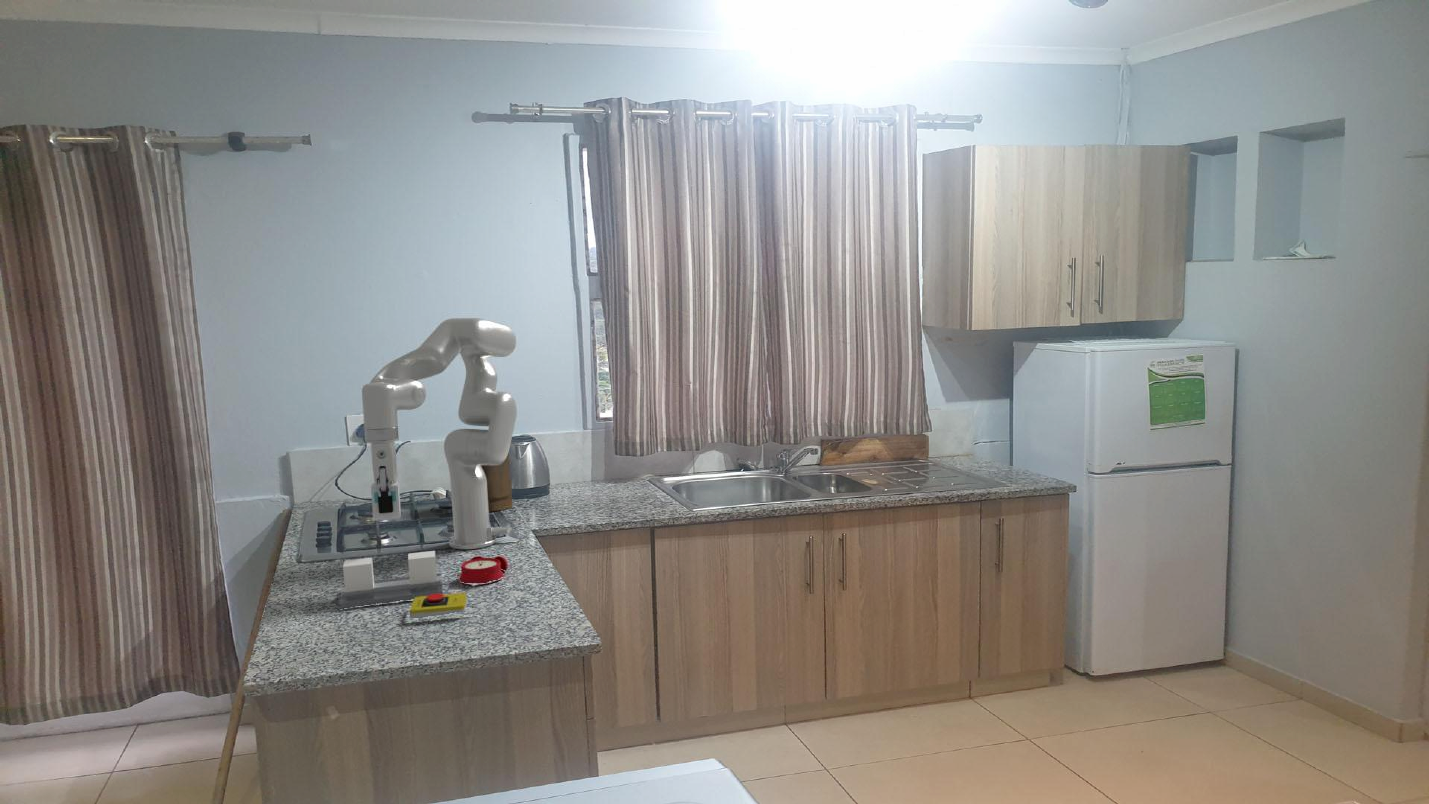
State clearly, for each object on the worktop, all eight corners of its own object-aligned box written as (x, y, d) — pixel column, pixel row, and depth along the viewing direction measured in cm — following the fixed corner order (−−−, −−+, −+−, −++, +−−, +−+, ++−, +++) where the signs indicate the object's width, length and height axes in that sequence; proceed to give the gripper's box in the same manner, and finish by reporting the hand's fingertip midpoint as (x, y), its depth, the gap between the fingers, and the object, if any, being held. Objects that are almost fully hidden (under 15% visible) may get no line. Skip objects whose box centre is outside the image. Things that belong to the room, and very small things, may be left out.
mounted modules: (436, 575, 229) (434, 550, 228) (437, 581, 224) (435, 556, 223) (346, 585, 223) (344, 560, 222) (345, 592, 218) (343, 566, 217)
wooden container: (497, 499, 315) (492, 432, 312) (521, 506, 304) (517, 437, 301) (455, 507, 305) (450, 439, 302) (479, 515, 294) (474, 444, 291)
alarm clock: (450, 573, 227) (470, 541, 241) (454, 596, 229) (474, 563, 243) (493, 573, 226) (511, 541, 240) (496, 596, 228) (514, 563, 242)
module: (400, 513, 234) (398, 481, 233) (400, 518, 229) (397, 485, 228) (374, 516, 233) (372, 483, 232) (373, 521, 228) (370, 487, 227)
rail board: (441, 579, 234) (440, 569, 233) (442, 597, 220) (442, 586, 220) (344, 590, 227) (343, 580, 227) (340, 610, 214) (339, 599, 214)
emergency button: (406, 592, 213) (476, 586, 216) (408, 611, 214) (477, 604, 216) (401, 606, 204) (474, 599, 207) (402, 626, 205) (475, 619, 207)
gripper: (396, 439, 221) (401, 516, 224) (399, 428, 238) (404, 501, 240) (362, 441, 219) (367, 519, 222) (367, 430, 236) (372, 503, 238)
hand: (386, 509), depth 231 cm, fingers closed on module, 5 cm apart
